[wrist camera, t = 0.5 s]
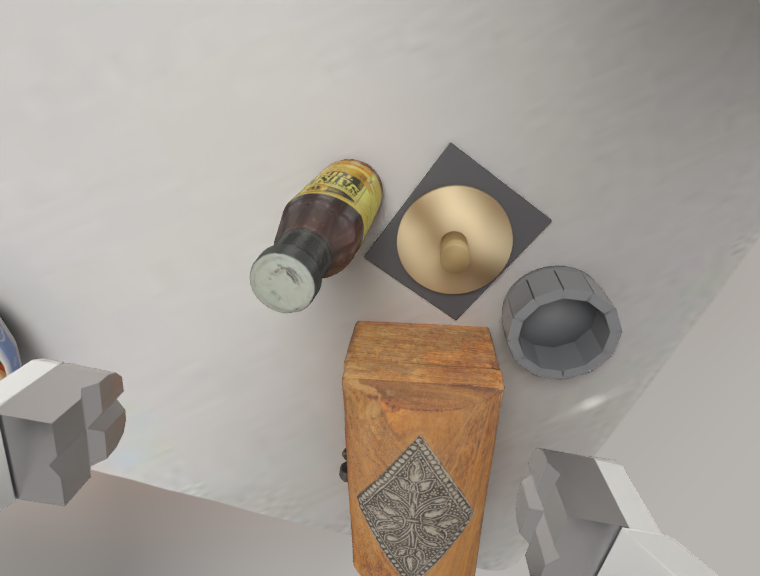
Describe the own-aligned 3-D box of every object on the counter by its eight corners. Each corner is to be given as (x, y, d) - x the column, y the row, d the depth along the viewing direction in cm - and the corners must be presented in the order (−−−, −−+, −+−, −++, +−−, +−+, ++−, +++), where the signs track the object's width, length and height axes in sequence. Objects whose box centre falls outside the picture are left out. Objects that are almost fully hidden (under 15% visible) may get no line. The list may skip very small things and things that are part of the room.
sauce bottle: (379, 151, 41) (333, 226, 24) (388, 216, 44) (354, 325, 26) (311, 160, 42) (220, 238, 25) (324, 223, 45) (251, 332, 28)
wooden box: (347, 315, 50) (318, 400, 38) (497, 324, 48) (516, 416, 36) (355, 493, 64) (336, 596, 52) (472, 505, 62) (479, 615, 50)
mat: (450, 142, 40) (450, 143, 40) (550, 219, 42) (551, 221, 42) (364, 256, 46) (364, 257, 46) (455, 317, 48) (456, 319, 48)
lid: (444, 160, 40) (444, 173, 36) (536, 229, 42) (547, 250, 38) (376, 249, 45) (369, 270, 41) (461, 307, 47) (463, 334, 43)
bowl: (551, 247, 43) (563, 269, 39) (624, 302, 45) (644, 329, 41) (482, 315, 48) (486, 342, 43) (552, 363, 50) (562, 394, 45)
